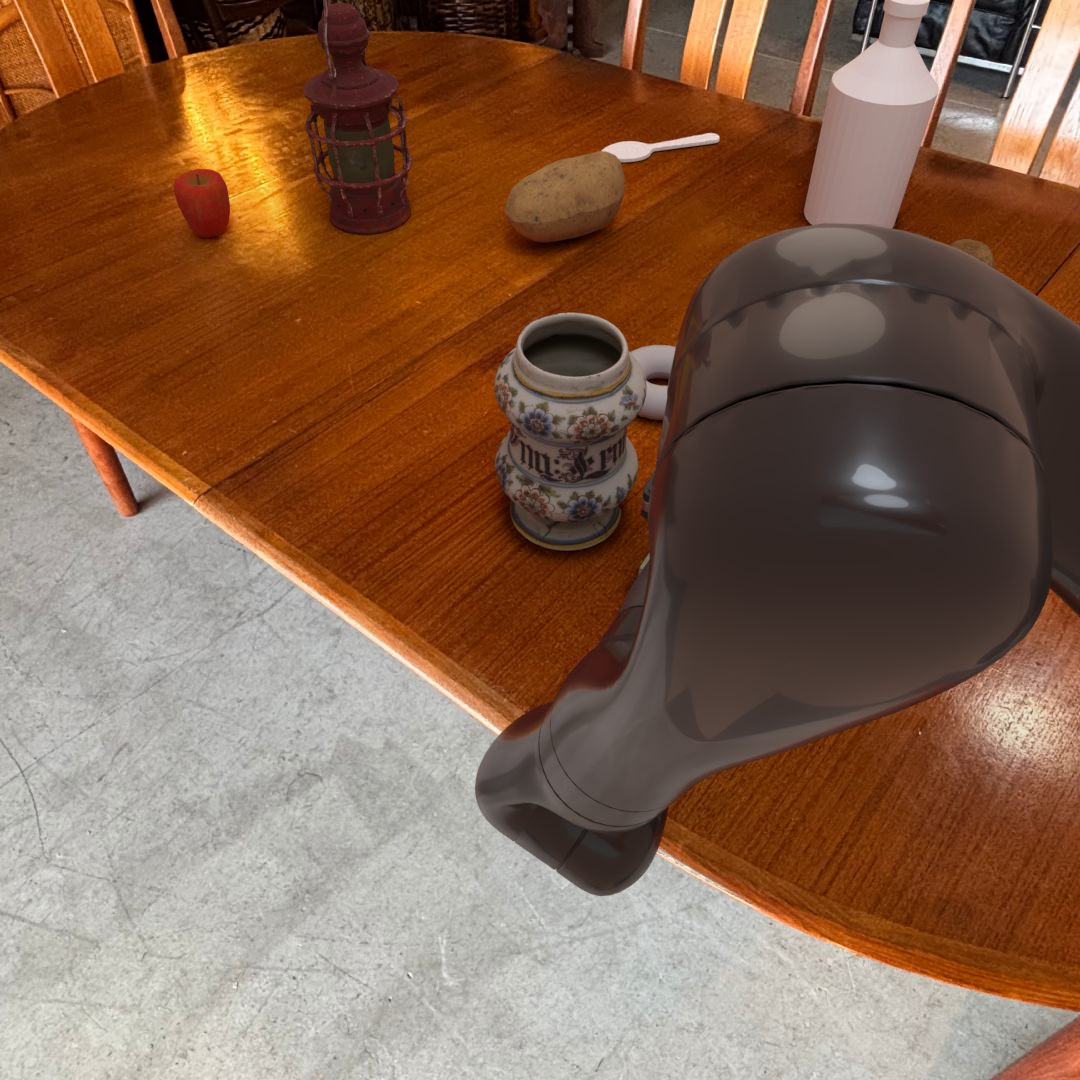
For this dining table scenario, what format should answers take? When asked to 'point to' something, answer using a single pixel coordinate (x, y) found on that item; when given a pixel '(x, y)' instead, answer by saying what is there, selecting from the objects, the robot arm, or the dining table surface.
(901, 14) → the bottle
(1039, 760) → the dining table surface
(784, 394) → the robot arm
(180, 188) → the apple
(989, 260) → the fruit
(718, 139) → the spoon
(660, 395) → the donut
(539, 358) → the apothecary jar
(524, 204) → the potato
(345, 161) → the lantern
